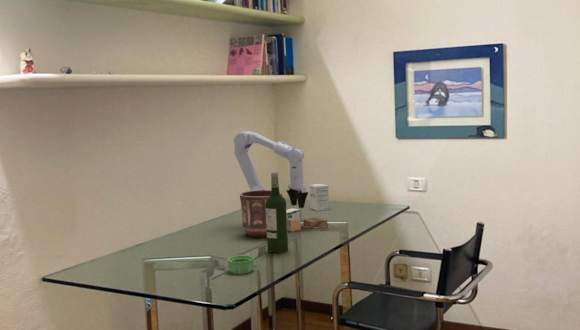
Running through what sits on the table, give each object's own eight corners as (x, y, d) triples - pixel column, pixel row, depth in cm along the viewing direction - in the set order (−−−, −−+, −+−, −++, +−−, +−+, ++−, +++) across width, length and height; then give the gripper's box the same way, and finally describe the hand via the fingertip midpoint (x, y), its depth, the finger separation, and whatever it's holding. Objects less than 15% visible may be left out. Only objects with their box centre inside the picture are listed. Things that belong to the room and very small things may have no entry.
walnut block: (311, 230, 270) (311, 222, 270) (303, 226, 277) (303, 219, 277) (327, 227, 273) (327, 219, 273) (319, 224, 281) (318, 216, 280)
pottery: (246, 241, 252) (244, 197, 250) (238, 232, 269) (236, 191, 267) (287, 237, 257) (286, 194, 255) (277, 229, 274) (275, 189, 272)
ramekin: (222, 272, 209) (221, 259, 209) (240, 266, 216) (239, 253, 216) (242, 276, 204) (241, 263, 203) (259, 269, 211) (259, 257, 210)
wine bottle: (263, 251, 235) (259, 173, 231) (278, 247, 240) (274, 171, 237) (277, 254, 229) (273, 174, 226) (292, 250, 235) (289, 172, 231)
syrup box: (302, 221, 288) (283, 227, 277) (292, 219, 292) (272, 225, 280) (301, 209, 287) (282, 214, 276) (291, 208, 291) (272, 213, 280)
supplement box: (310, 208, 318) (309, 184, 316) (322, 207, 321) (321, 183, 319) (316, 211, 311) (315, 186, 310) (329, 209, 314) (328, 184, 313)
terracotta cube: (291, 231, 267) (290, 220, 267) (287, 229, 271) (286, 218, 271) (300, 230, 269) (300, 219, 268) (296, 228, 273) (295, 217, 272)
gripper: (312, 177, 267) (313, 208, 268) (297, 173, 280) (298, 203, 281) (297, 178, 264) (298, 209, 265) (283, 175, 277) (284, 205, 278)
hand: (297, 206), depth 273 cm, fingers open, 7 cm apart
